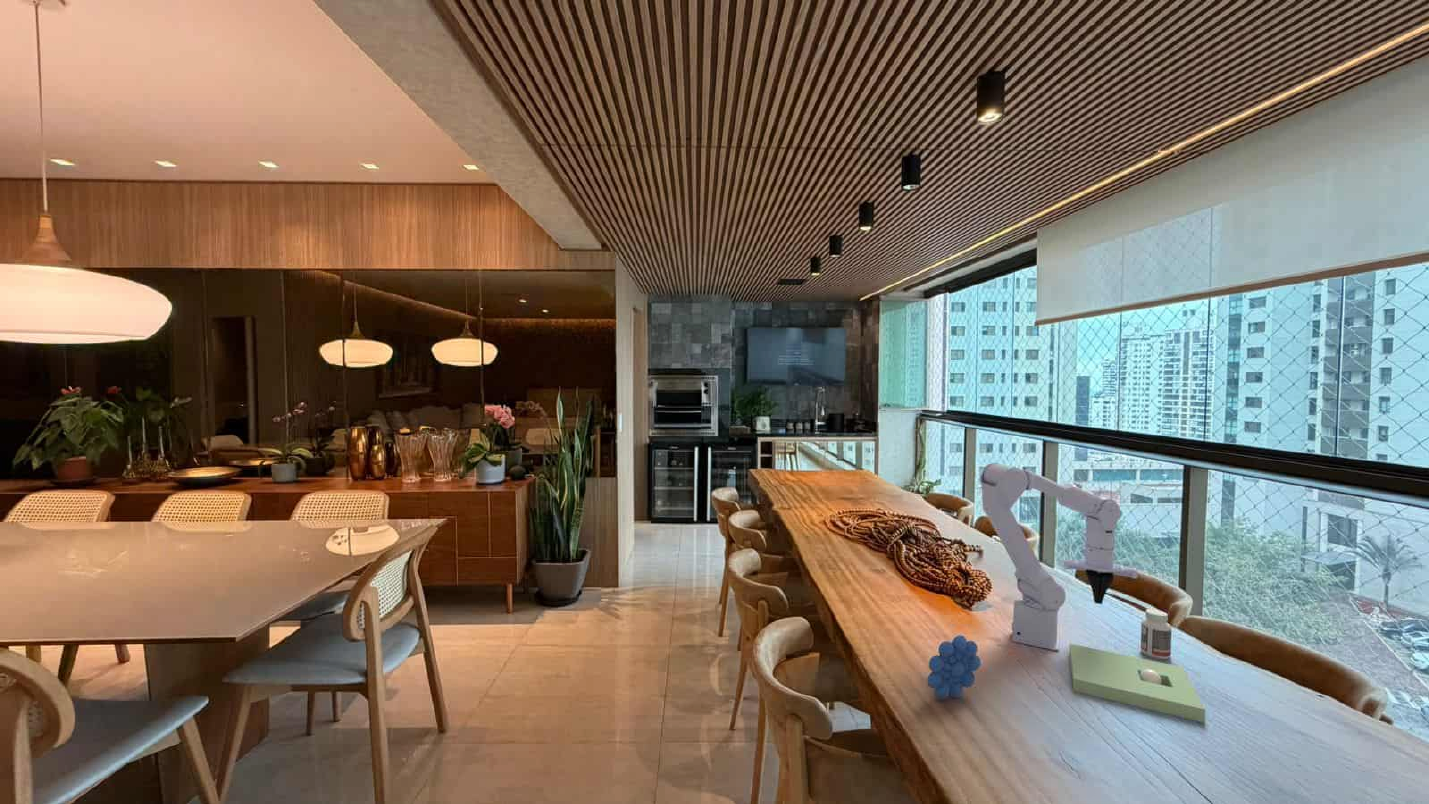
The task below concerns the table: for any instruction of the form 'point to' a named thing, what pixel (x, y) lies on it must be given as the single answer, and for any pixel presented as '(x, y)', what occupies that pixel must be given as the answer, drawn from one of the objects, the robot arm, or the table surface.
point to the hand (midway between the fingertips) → (1097, 602)
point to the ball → (1150, 676)
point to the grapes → (953, 667)
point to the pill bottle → (1156, 634)
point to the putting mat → (1134, 682)
